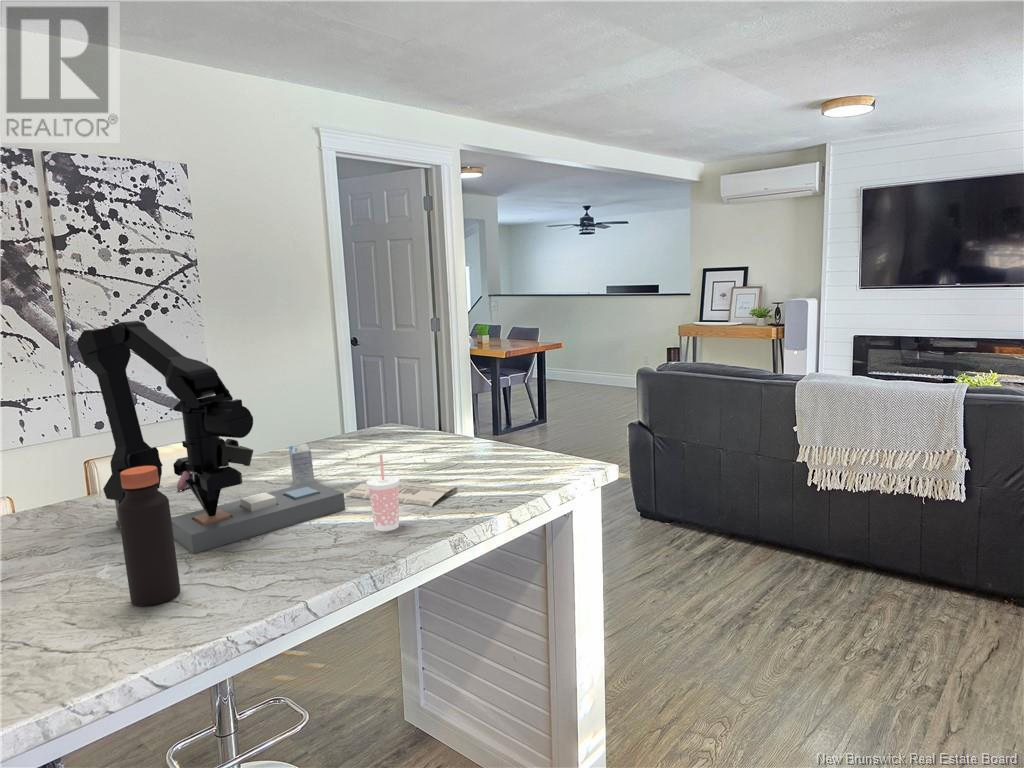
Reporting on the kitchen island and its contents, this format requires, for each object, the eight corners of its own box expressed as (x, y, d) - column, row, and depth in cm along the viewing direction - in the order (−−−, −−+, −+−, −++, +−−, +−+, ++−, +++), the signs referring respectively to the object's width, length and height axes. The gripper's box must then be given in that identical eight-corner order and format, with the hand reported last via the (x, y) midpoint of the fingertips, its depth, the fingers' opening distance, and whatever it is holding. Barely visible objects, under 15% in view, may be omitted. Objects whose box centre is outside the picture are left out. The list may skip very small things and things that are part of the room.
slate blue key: (297, 511, 139) (295, 497, 139) (285, 506, 143) (284, 492, 142) (319, 505, 143) (318, 491, 142) (308, 500, 146) (307, 486, 146)
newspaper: (461, 491, 152) (460, 481, 151) (433, 515, 141) (431, 504, 141) (376, 482, 162) (375, 472, 161) (343, 504, 151) (342, 493, 150)
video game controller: (224, 493, 163) (228, 463, 165) (215, 490, 159) (218, 460, 161) (184, 494, 164) (188, 464, 166) (174, 491, 160) (178, 461, 162)
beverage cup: (367, 524, 133) (361, 453, 130) (399, 518, 135) (394, 448, 133) (373, 534, 127) (367, 460, 125) (406, 529, 129) (400, 456, 127)
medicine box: (315, 486, 159) (311, 450, 158) (294, 489, 158) (291, 452, 156) (311, 478, 166) (308, 443, 165) (292, 481, 165) (288, 445, 163)
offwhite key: (252, 518, 133) (250, 503, 133) (242, 513, 137) (240, 498, 136) (277, 511, 136) (275, 497, 136) (266, 506, 140) (265, 492, 140)
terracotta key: (205, 537, 127) (203, 522, 127) (195, 531, 131) (193, 516, 130) (232, 530, 130) (230, 514, 130) (222, 524, 134) (220, 509, 134)
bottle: (125, 598, 106) (106, 471, 103) (171, 583, 110) (155, 461, 107) (139, 612, 101) (120, 479, 98) (187, 595, 105) (170, 468, 102)
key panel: (193, 553, 122) (191, 535, 122) (169, 536, 132) (167, 518, 131) (345, 509, 142) (343, 492, 142) (315, 496, 152) (313, 481, 151)
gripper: (265, 433, 126) (274, 515, 129) (226, 421, 140) (235, 495, 142) (202, 445, 119) (213, 532, 121) (168, 431, 133) (178, 509, 135)
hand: (211, 515), depth 130 cm, fingers closed, pressing on terracotta key
